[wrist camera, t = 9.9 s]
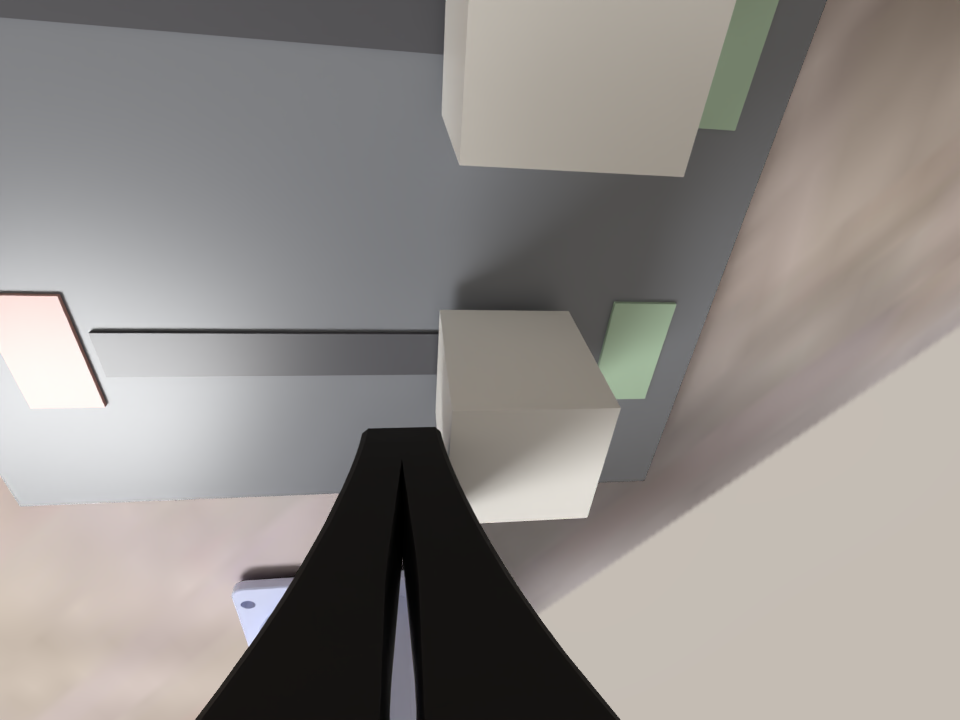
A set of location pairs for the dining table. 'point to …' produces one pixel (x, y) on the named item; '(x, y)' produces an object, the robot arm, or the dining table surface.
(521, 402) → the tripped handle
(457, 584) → the robot arm
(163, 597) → the dining table surface
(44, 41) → the board
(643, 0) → the cream cube box
